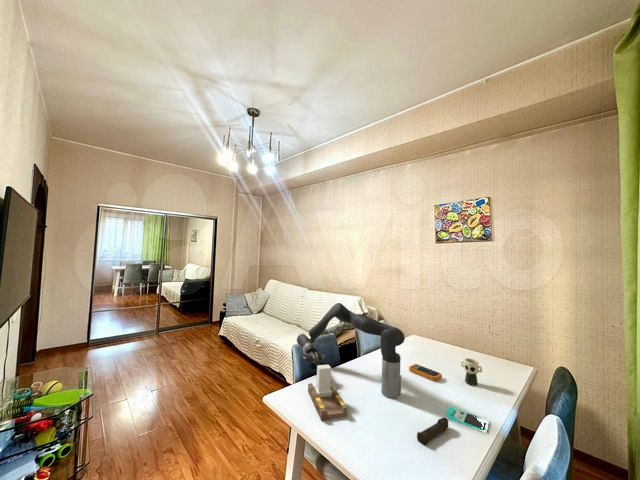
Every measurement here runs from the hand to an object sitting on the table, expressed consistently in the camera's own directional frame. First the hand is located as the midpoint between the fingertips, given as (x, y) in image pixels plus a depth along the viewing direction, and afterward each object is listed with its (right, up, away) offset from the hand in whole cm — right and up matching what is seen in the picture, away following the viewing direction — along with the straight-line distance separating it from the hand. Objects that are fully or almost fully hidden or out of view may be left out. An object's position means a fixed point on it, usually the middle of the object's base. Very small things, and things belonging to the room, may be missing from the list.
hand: (318, 363), depth 141 cm
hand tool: (+47, -12, -36) cm, 60 cm away
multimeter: (+65, -16, +18) cm, 70 cm away
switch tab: (+3, -10, -12) cm, 15 cm away
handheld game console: (+67, -14, -25) cm, 73 cm away
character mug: (+88, -16, +9) cm, 90 cm away
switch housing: (+4, -11, -17) cm, 21 cm away
